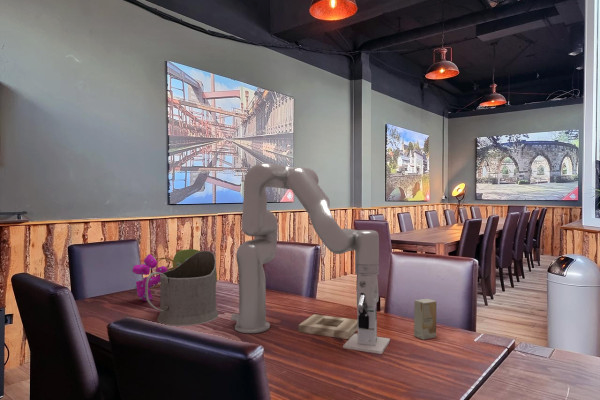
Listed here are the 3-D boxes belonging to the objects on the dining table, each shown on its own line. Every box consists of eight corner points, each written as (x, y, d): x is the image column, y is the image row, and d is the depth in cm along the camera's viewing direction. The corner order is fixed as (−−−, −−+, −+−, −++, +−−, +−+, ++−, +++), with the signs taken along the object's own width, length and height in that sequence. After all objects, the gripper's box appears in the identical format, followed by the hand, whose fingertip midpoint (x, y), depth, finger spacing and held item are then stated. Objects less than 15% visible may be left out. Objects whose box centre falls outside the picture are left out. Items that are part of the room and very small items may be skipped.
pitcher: (230, 313, 161) (230, 252, 161) (168, 336, 134) (168, 263, 134) (189, 306, 173) (189, 248, 173) (125, 326, 145) (124, 258, 145)
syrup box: (375, 345, 122) (376, 299, 122) (356, 343, 124) (357, 297, 124) (376, 339, 128) (377, 294, 128) (358, 337, 129) (359, 293, 129)
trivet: (343, 347, 123) (343, 345, 123) (354, 335, 134) (354, 333, 134) (381, 354, 118) (381, 351, 118) (390, 341, 129) (390, 338, 129)
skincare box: (423, 340, 129) (422, 303, 129) (413, 336, 133) (413, 300, 133) (437, 337, 132) (437, 300, 132) (427, 333, 136) (427, 297, 136)
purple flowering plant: (211, 232, 196) (161, 251, 164) (229, 287, 196) (182, 316, 165) (167, 245, 208) (112, 264, 177) (184, 296, 209) (132, 325, 177)
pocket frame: (298, 331, 138) (298, 324, 138) (314, 320, 151) (314, 314, 151) (348, 339, 131) (348, 331, 131) (359, 326, 143) (359, 320, 143)
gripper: (371, 274, 116) (371, 334, 116) (384, 265, 132) (384, 318, 132) (347, 272, 119) (347, 331, 119) (362, 264, 135) (362, 315, 135)
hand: (367, 324), depth 126 cm, fingers open, 7 cm apart
